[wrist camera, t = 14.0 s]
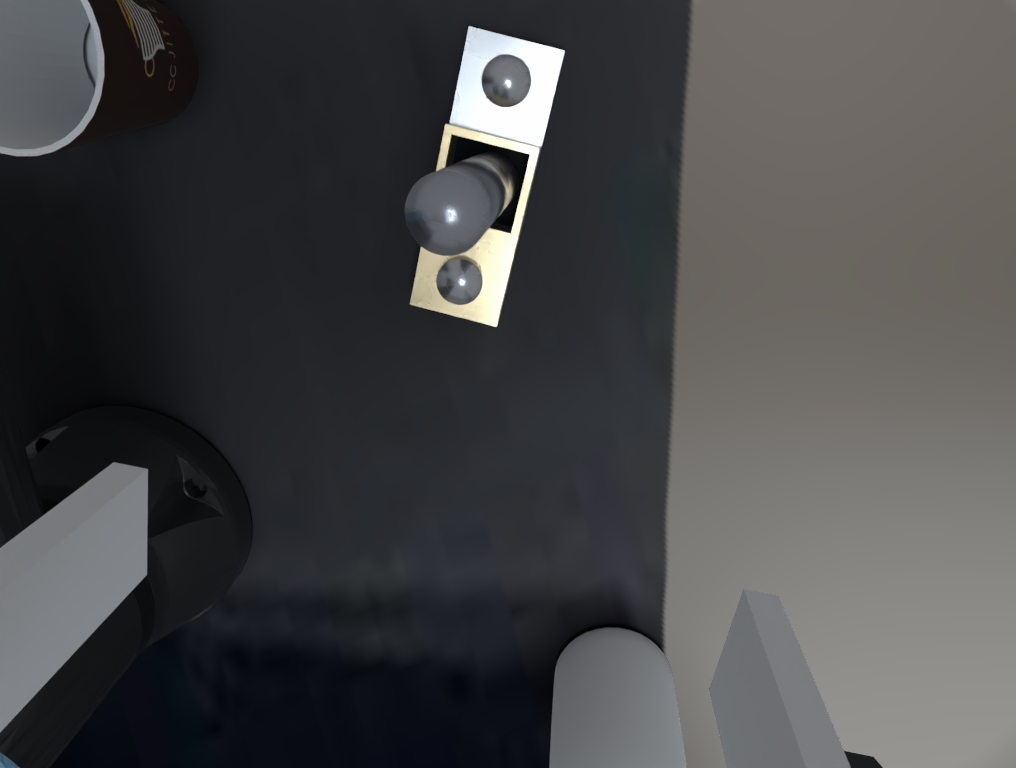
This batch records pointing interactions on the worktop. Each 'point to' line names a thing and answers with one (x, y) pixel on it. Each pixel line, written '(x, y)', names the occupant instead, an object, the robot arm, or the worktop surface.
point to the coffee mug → (89, 71)
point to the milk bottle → (615, 704)
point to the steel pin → (460, 202)
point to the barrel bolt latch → (501, 122)
